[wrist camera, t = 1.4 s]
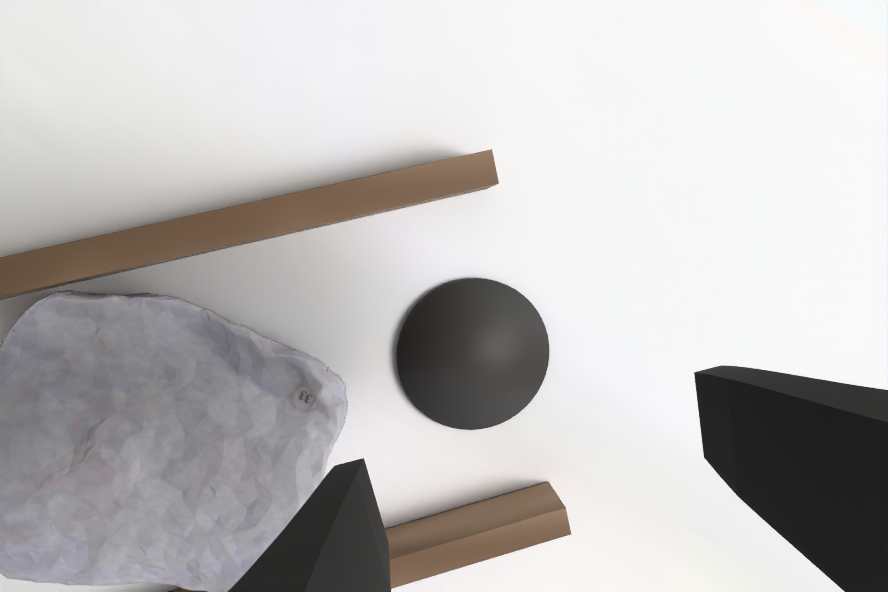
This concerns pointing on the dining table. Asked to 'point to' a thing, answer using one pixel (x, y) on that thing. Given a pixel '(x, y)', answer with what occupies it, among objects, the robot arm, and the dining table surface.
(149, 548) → the stone block
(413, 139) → the dining table surface
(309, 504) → the robot arm
